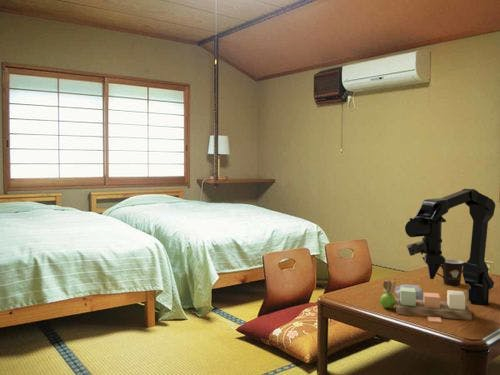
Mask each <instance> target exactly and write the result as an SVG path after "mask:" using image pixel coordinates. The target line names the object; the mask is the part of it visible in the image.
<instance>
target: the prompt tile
mask: <svg viewBox="0 0 500 375" xmlns="http://www.w3.org/2000/svg"><path fill="white" fill-rule="evenodd" d="M427 321H428V322H429V323H438V324H439V323H440V324H441V323H443V321H442V317H430V316H427Z"/></svg>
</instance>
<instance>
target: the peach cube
mask: <svg viewBox="0 0 500 375" xmlns="http://www.w3.org/2000/svg"><path fill="white" fill-rule="evenodd" d="M440 301H441V296H440V294H439V292H438V293H435V292H424V291H423V306H424V307H433V308H440Z"/></svg>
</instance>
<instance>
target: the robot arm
mask: <svg viewBox="0 0 500 375" xmlns="http://www.w3.org/2000/svg"><path fill="white" fill-rule="evenodd" d="M462 204H463V205H464V204H465V205H466V206H467V207H468V208H469V210H468V211H469V215H470V217H471V219H472V231H471V239H470V240H471V241H470V250H469V251H470V252H469V259H468V260H467V261H466V262H464V261H463V268H462V277H463V280H464V284H465V285H468V288H467V291H466V297H467V300H468V302H469V303H470V304H472V305H473V304H474V305H487V306H489V305H490V304H491V303H490V302H489V299H490V298H489V297H490V292H489V291H490V290H492V289H493V288H494V285H495V282H494V280H493V279H492V277H490V275H489V267H488V265H487V263H486V260H485V257H486V248H487V237H488V236H487V235H488V227H489V222H490V221H491V219H492V218H493V217H494V215H495V209H496V202H494V200H493V199H492V198H489V196H487V195H485V194H482V193H480V192H479V191H478V190H476V189H474V188H463V189H461V190H459V191H456V192H453V193H451V194H449V195H445V196H444V197H439V198H426V199H424V200H423V201H422V203H421V205H420V207H419V209H418V211H417V212H416V214H415V216H414V217H413V216H412V217H411V216H410V217H409V221H407V222H406V224H405V226H404V231H405V233H406V235H407V236H408V237H410V238H420V237H422V238H421V239H422V240H421V241H416V242H414V243H409V244H407V245H406V249H407V251H408V253H409V256H414V255H417V254H420V255H424V256H422V257H421V258H422V259H423V262H424V264H426V265H427V270H428V275H429V279H430V280H434V279H435V277H436V275H437V273H438V271H439V269H440V268H441V265H444V264H445V259H446V257H445V256H444V255H443V251H442V243H443V239H442V228H443V227H442V225H443V224H442V223H446V222H447V220H446V218H444V217H443V216H444V215H446V214H448V213H449V210H450V209H452V208H454V207H458V206H459V205H462Z"/></svg>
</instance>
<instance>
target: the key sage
mask: <svg viewBox="0 0 500 375" xmlns="http://www.w3.org/2000/svg"><path fill="white" fill-rule="evenodd" d="M400 303H401V305H410V306H416V291H415V288H404V287H400Z"/></svg>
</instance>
